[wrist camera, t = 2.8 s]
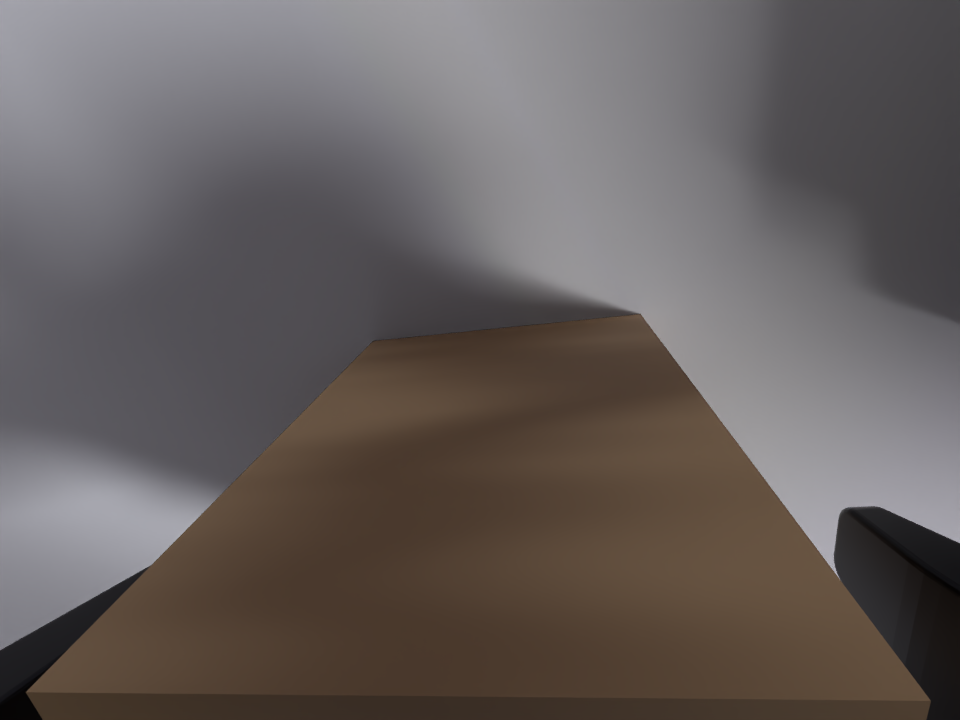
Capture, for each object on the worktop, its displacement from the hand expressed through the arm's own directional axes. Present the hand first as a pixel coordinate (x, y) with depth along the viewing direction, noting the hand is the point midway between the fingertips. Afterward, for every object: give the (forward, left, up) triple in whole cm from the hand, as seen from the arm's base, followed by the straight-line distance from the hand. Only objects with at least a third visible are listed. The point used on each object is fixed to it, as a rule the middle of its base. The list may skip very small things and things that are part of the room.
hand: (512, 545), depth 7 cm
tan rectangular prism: (0, 0, -3) cm, 3 cm away
